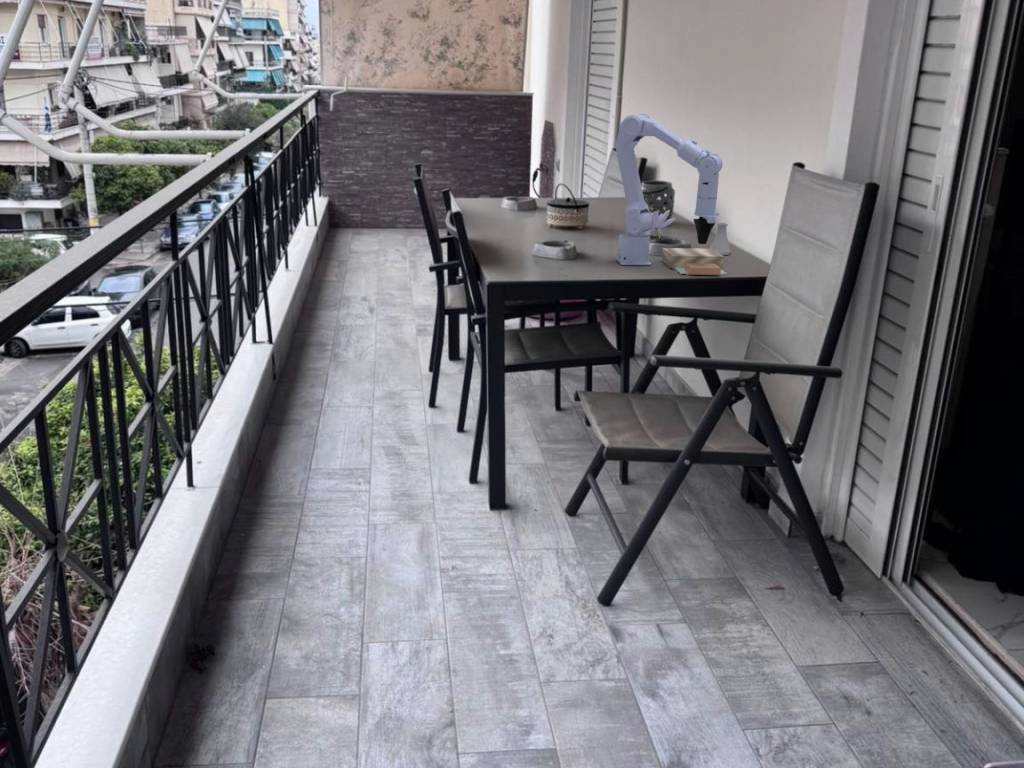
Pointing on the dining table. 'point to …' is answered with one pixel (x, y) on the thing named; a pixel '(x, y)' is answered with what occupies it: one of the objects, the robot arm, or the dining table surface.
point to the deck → (691, 257)
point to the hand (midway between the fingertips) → (702, 243)
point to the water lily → (660, 222)
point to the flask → (721, 240)
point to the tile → (702, 268)
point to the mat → (683, 271)
